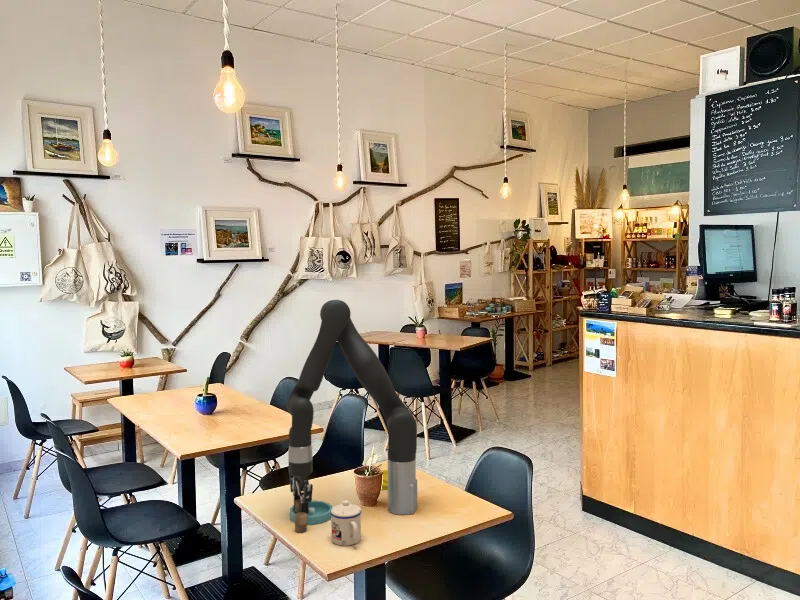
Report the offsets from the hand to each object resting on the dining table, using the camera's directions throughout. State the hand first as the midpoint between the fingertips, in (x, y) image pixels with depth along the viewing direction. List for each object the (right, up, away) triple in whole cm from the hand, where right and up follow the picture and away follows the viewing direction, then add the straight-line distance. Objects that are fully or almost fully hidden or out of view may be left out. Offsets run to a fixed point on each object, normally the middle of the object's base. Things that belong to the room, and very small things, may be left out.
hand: (301, 510), depth 205 cm
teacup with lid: (+16, -4, -16) cm, 24 cm away
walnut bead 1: (0, -2, 0) cm, 2 cm away
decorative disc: (+26, -1, +33) cm, 42 cm away
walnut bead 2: (+1, -3, -9) cm, 10 cm away
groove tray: (+3, -3, +2) cm, 4 cm away
